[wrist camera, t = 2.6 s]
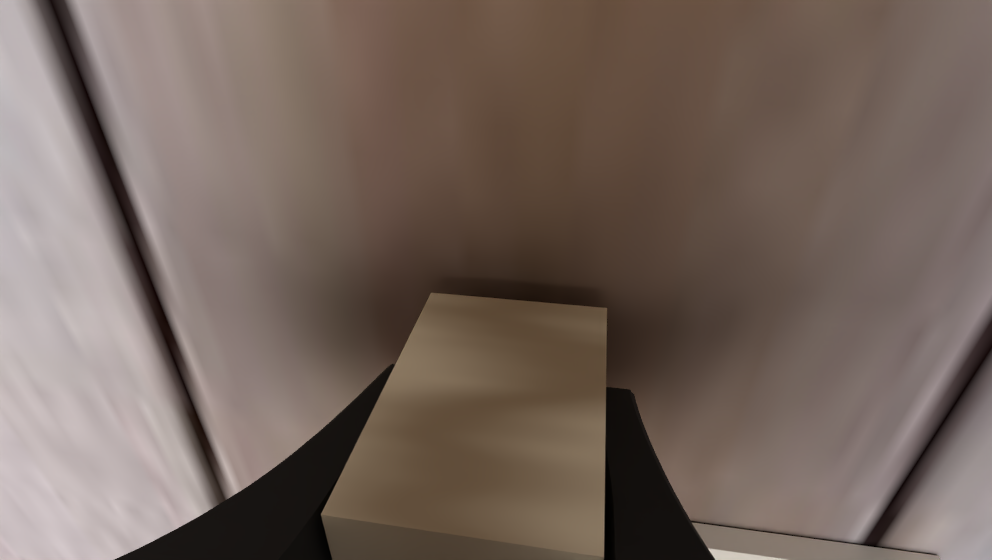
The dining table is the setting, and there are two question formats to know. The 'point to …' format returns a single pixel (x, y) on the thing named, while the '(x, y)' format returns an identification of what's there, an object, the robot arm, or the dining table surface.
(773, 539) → the socket board
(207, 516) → the robot arm
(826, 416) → the dining table surface
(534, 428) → the birch block
